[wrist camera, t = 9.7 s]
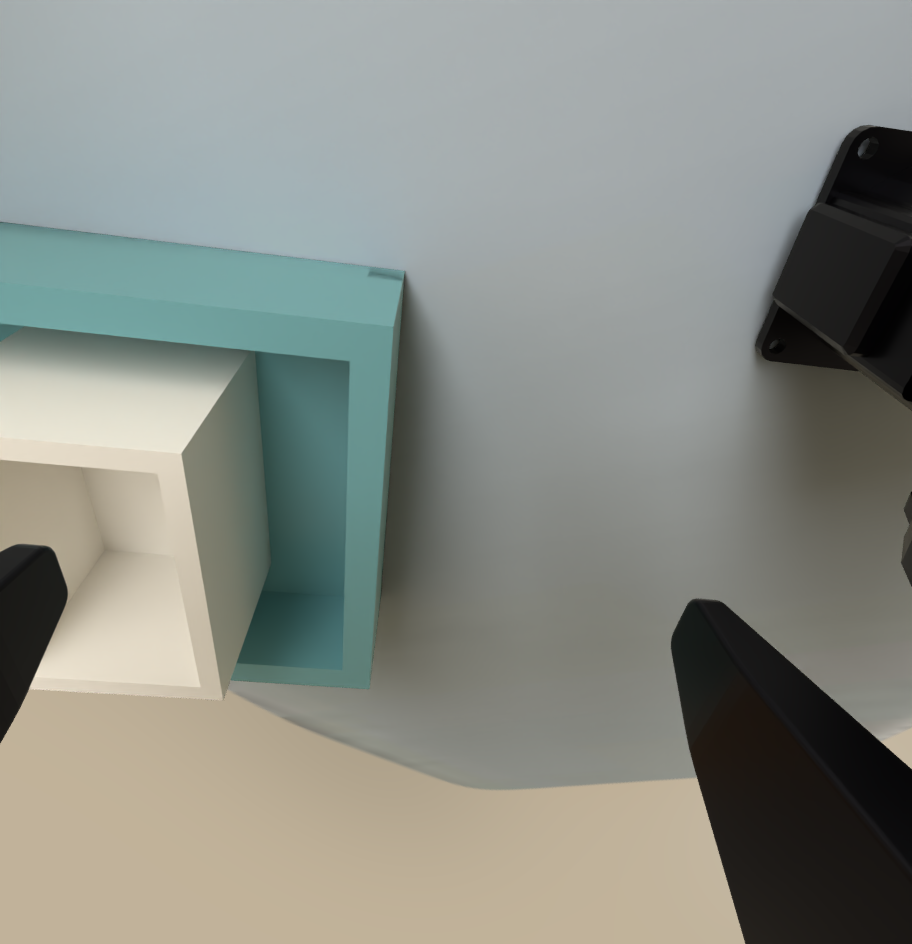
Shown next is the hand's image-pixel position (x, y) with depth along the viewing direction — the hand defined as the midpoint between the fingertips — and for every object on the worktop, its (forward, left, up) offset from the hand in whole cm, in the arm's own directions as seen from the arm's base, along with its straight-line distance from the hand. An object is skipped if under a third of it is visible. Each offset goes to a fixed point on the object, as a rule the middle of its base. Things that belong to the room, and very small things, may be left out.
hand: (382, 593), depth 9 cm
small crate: (+8, +6, -11) cm, 15 cm away
